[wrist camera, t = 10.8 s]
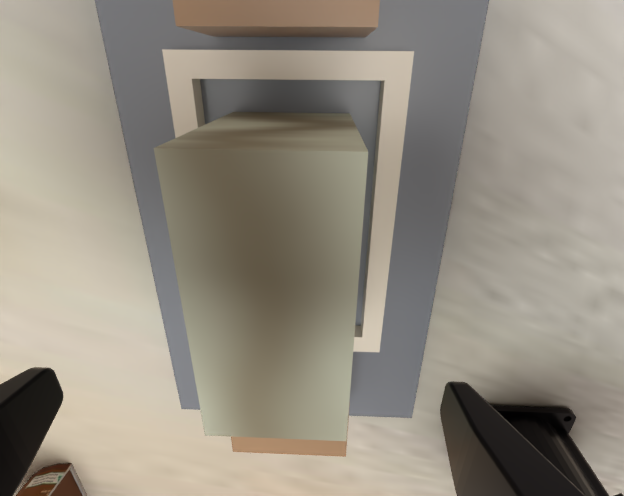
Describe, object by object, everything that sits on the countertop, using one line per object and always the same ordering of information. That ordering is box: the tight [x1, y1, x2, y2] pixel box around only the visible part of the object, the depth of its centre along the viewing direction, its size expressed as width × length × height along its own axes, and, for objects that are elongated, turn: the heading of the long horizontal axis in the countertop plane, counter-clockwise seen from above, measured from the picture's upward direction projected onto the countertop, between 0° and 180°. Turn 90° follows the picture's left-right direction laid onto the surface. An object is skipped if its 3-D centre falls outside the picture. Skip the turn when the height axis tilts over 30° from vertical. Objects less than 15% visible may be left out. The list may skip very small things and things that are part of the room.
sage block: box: [154, 112, 368, 441], centre depth 14 cm, size 5×10×8 cm, turn 179°
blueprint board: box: [95, 0, 489, 456], centre depth 17 cm, size 15×27×5 cm, turn 0°
